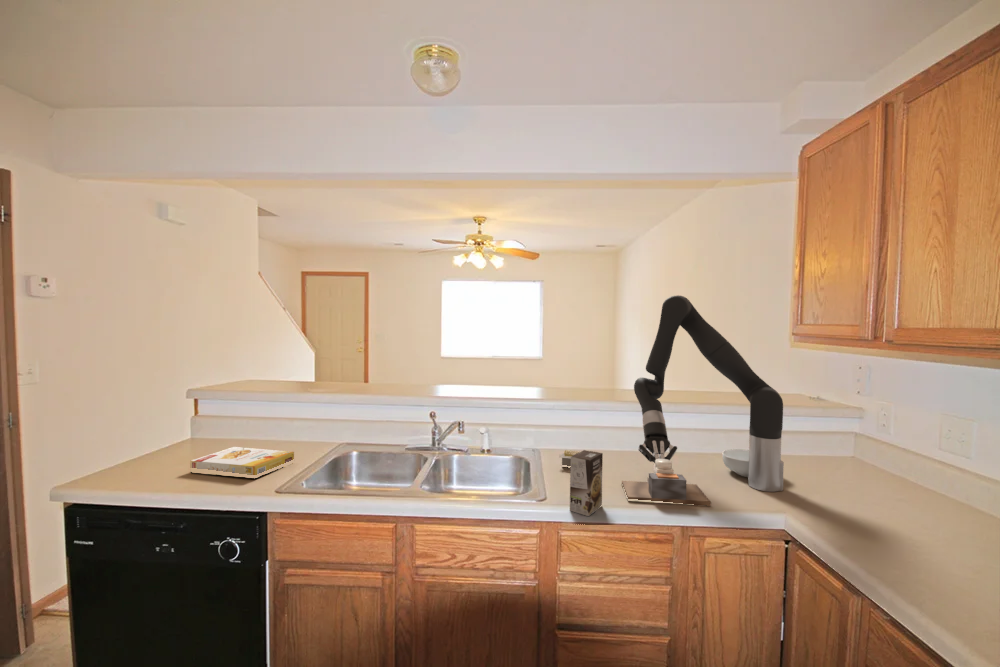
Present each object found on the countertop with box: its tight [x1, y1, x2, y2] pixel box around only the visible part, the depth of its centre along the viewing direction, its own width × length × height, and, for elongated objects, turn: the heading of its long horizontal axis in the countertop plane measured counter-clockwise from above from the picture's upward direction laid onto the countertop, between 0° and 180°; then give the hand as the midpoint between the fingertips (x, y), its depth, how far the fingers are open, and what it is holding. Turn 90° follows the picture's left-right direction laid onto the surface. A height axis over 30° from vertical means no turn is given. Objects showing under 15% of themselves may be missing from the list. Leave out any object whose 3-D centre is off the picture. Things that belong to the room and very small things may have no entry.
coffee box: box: [569, 449, 604, 517], centre depth 133 cm, size 9×6×16 cm
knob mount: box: [621, 472, 712, 507], centre depth 144 cm, size 24×14×8 cm, turn 83°
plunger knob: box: [653, 459, 675, 474], centre depth 144 cm, size 5×5×9 cm
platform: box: [558, 449, 580, 466], centre depth 170 cm, size 12×18×7 cm, turn 71°
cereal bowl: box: [721, 448, 749, 478], centre depth 164 cm, size 17×17×7 cm
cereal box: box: [189, 446, 295, 475], centre depth 168 cm, size 20×6×28 cm
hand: (661, 473), depth 147 cm, fingers closed
